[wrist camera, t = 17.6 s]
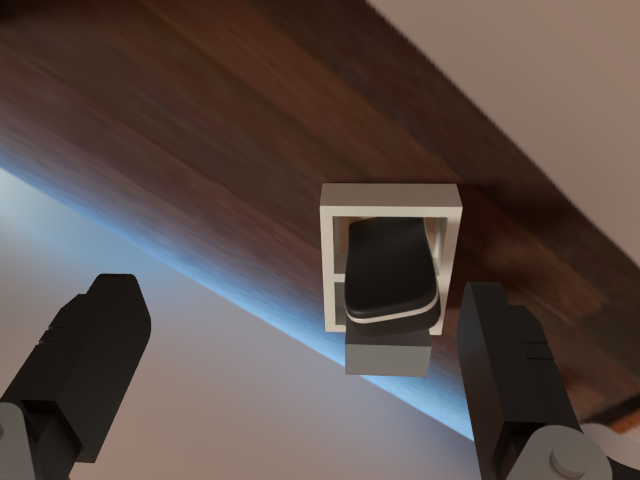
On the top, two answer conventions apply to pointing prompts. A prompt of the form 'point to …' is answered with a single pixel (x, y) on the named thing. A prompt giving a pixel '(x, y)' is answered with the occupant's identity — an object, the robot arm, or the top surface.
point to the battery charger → (390, 277)
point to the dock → (336, 215)
